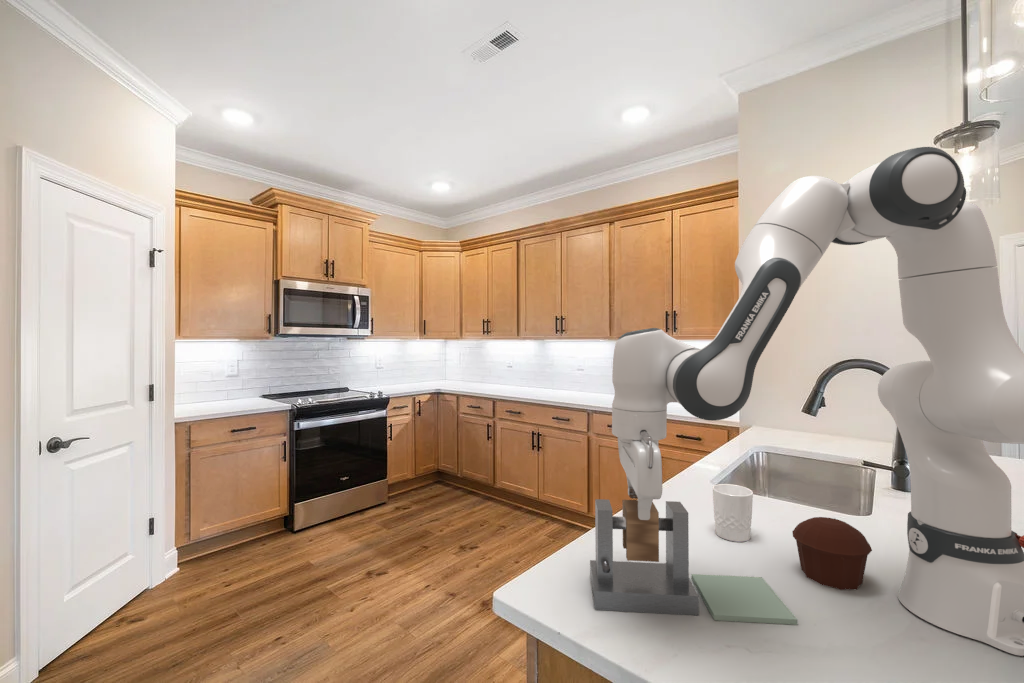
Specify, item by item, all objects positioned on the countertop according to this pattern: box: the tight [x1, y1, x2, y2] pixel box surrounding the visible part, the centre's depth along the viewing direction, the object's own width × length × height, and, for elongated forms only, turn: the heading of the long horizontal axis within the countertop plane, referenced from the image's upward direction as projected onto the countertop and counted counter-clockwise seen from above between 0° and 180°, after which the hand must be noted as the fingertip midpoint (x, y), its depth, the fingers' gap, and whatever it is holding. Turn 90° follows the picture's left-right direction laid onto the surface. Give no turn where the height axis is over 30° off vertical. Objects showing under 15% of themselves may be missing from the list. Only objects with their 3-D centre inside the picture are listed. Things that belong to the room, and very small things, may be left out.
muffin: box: [792, 516, 873, 591], centre depth 81 cm, size 12×11×10 cm
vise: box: [589, 498, 700, 616], centre depth 76 cm, size 16×10×15 cm, turn 84°
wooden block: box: [621, 499, 660, 563], centre depth 76 cm, size 5×5×8 cm
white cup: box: [712, 483, 754, 543], centre depth 98 cm, size 8×8×10 cm
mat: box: [690, 573, 799, 626], centre depth 74 cm, size 12×12×1 cm
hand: (638, 507), depth 76 cm, fingers open, 8 cm apart
